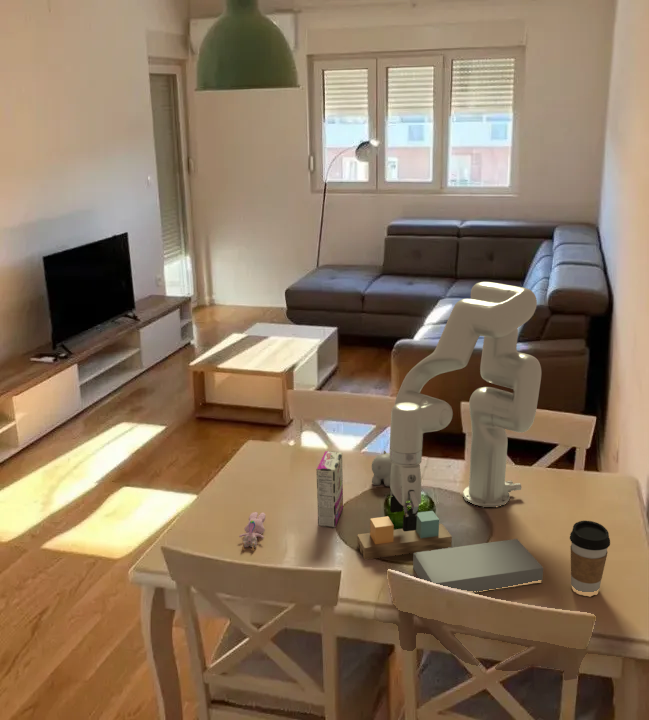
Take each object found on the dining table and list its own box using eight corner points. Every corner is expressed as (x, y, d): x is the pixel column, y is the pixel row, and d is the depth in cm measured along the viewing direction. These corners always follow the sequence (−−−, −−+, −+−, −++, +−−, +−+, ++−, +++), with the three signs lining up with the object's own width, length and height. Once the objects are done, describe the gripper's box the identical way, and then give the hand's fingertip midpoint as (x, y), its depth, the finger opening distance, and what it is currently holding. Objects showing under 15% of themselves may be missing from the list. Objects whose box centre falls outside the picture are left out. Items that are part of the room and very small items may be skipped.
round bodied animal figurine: (404, 472, 235) (404, 445, 232) (392, 489, 224) (392, 462, 222) (380, 468, 237) (380, 442, 235) (368, 485, 227) (368, 458, 224)
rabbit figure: (261, 557, 194) (272, 518, 207) (259, 537, 191) (270, 499, 204) (235, 555, 194) (248, 517, 208) (233, 536, 192) (246, 498, 205)
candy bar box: (325, 506, 215) (324, 450, 210) (343, 507, 214) (343, 451, 209) (316, 526, 205) (315, 468, 200) (335, 528, 204) (335, 469, 199)
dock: (516, 553, 191) (517, 538, 190) (542, 583, 179) (543, 567, 178) (413, 567, 186) (413, 552, 184) (432, 599, 174) (433, 583, 172)
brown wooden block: (441, 536, 200) (442, 523, 199) (451, 549, 194) (451, 536, 193) (357, 547, 196) (357, 534, 194) (364, 560, 190) (364, 547, 188)
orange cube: (387, 532, 195) (388, 516, 194) (393, 541, 191) (393, 525, 190) (370, 534, 194) (370, 518, 193) (375, 544, 190) (375, 527, 189)
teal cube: (432, 527, 198) (432, 510, 196) (438, 536, 193) (439, 519, 192) (414, 529, 197) (415, 512, 195) (421, 538, 192) (421, 521, 191)
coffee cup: (596, 578, 181) (602, 519, 176) (610, 600, 173) (617, 539, 168) (560, 579, 181) (565, 520, 176) (572, 601, 173) (578, 540, 168)
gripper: (433, 468, 180) (430, 536, 185) (408, 440, 196) (406, 503, 201) (402, 471, 178) (399, 539, 183) (379, 442, 195) (377, 506, 199)
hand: (402, 520), depth 192 cm, fingers open, 9 cm apart
